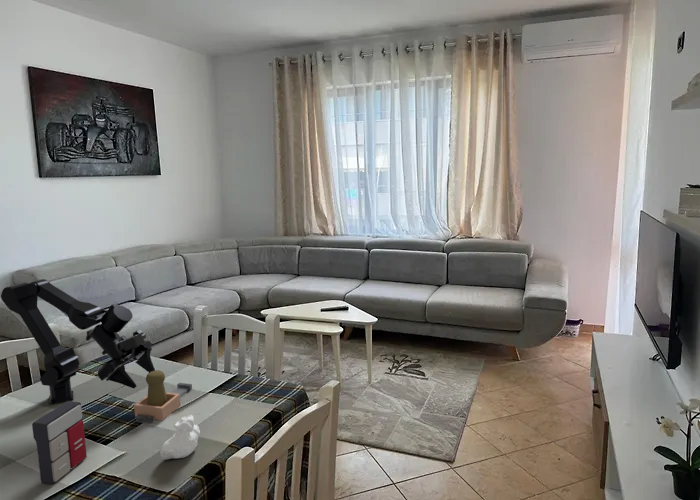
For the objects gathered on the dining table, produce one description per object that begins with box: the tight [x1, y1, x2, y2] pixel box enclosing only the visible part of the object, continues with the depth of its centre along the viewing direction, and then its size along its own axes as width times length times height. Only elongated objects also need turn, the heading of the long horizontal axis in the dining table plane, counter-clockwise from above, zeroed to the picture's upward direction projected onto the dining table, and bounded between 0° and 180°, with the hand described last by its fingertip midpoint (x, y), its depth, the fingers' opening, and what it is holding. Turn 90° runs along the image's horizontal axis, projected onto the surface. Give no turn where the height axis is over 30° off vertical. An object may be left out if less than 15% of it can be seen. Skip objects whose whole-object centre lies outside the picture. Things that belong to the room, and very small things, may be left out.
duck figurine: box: [159, 414, 201, 461], centre depth 122 cm, size 12×8×11 cm
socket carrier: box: [133, 391, 181, 421], centre depth 144 cm, size 9×9×4 cm
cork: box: [145, 370, 168, 407], centre depth 143 cm, size 6×6×11 cm
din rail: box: [135, 382, 193, 425], centre depth 148 cm, size 4×22×2 cm, turn 167°
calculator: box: [31, 400, 88, 485], centre depth 115 cm, size 11×4×15 cm, turn 168°
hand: (145, 380), depth 144 cm, fingers open, 9 cm apart
